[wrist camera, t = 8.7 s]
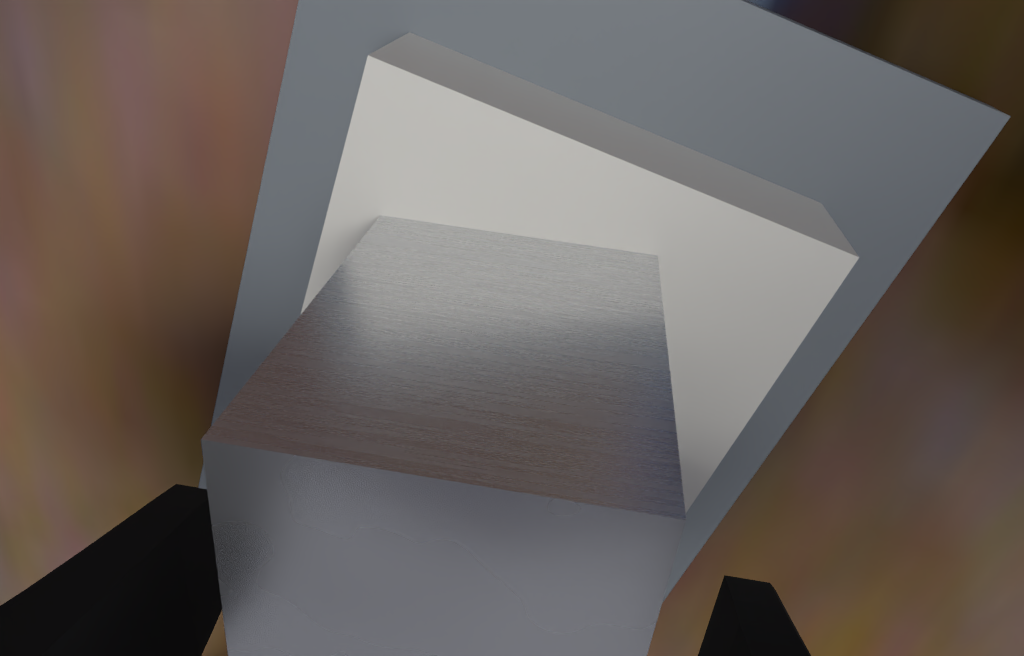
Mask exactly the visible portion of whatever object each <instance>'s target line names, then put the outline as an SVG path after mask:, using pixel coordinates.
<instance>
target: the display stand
mask: <svg viewBox="0 0 1024 656" xmlns="http://www.w3.org/2000/svg"><path fill="white" fill-rule="evenodd" d="M1010 117H1011V116H1009V115H1007V114H1005V113H1003V112H1001V111H999V110H997V109H995V108H993V107H991V106H990V105H988V104H986V103H983V102H981V101H979V100H976V99H974V98H972V97H969V96H967V95H965V94H962V93H960V92H958V91H956V90H953V89H951V88H949V87H946V86H944V85H942V84H939V83H937V82H935V81H932V80H930V79H928V78H925V77H923V76H921V75H918V74H916V73H914V72H911V71H909V70H907V69H905V68H902V67H900V66H898V65H895V64H893V63H891V62H888V61H886V60H884V59H881V58H879V57H877V56H874V55H872V54H870V53H867V52H865V51H863V50H861V49H858V48H856V47H854V46H851V45H849V44H847V43H844V42H842V41H840V40H837V39H835V38H833V37H830V36H828V35H826V34H823V33H821V32H819V31H816V30H814V29H812V28H810V27H807V26H805V25H803V24H800V23H798V22H796V21H793V20H791V19H789V18H786V17H784V16H782V15H779V14H777V13H775V12H772V11H770V10H768V9H766V8H763V7H761V6H759V5H756V4H754V3H752V2H749V1H747V0H299V2H298V7H297V11H296V16H295V21H294V26H293V31H292V36H291V41H290V45H289V50H288V55H287V60H286V65H285V70H284V75H283V79H282V84H281V89H280V94H279V99H278V104H277V108H276V113H275V118H274V123H273V128H272V133H271V138H270V142H269V147H268V152H267V157H266V162H265V167H264V172H263V176H262V181H261V186H260V191H259V196H258V201H257V206H256V210H255V215H254V220H253V225H252V230H251V235H250V239H249V244H248V249H247V254H246V259H245V264H244V269H243V273H242V278H241V283H240V288H239V293H238V298H237V303H236V307H235V312H234V317H233V322H232V327H231V332H230V336H229V341H228V346H227V351H226V356H225V361H224V366H223V370H222V375H221V380H220V385H219V390H218V395H217V400H216V404H215V409H214V414H213V419H212V424H211V426H212V425H213V424H214V422H215V421H216V420H217V419H218V417H219V416H220V415H221V414H222V412H223V411H224V410H225V409H226V407H227V406H228V405H229V404H230V402H231V401H232V400H233V399H234V397H235V396H236V395H237V394H238V392H239V391H240V390H241V389H242V387H243V386H244V385H245V384H246V383H247V381H248V380H249V379H250V378H251V376H252V375H253V374H254V373H255V371H256V370H257V369H258V368H259V366H260V365H261V364H262V363H263V361H264V360H265V359H266V358H267V356H268V355H269V354H270V353H271V351H272V350H273V349H274V348H275V346H276V345H277V344H278V343H279V341H280V340H281V339H282V338H283V336H284V335H285V334H286V333H287V331H288V330H289V329H290V328H291V326H292V325H293V324H294V323H295V321H296V320H297V319H298V318H299V316H300V315H301V314H302V313H303V311H304V310H305V309H306V308H307V306H308V305H309V304H310V303H311V301H312V300H313V299H314V298H315V296H316V295H317V294H318V293H319V291H320V290H321V289H322V288H323V286H324V285H325V284H326V283H327V281H328V280H329V279H330V278H331V276H332V275H333V274H334V273H335V271H336V270H337V269H338V268H339V266H340V265H341V264H342V263H343V261H344V260H345V259H346V258H347V257H348V255H349V254H350V253H351V252H352V250H353V249H354V248H355V247H356V245H357V244H358V243H359V242H360V240H361V239H362V238H363V237H364V235H365V234H366V233H367V232H368V230H369V229H370V228H371V227H372V225H373V224H374V223H375V222H376V220H377V219H378V218H379V217H380V215H382V216H389V217H396V218H403V219H410V220H416V221H423V222H430V223H437V224H444V225H451V226H458V227H465V228H472V229H478V230H485V231H492V232H499V233H506V234H513V235H520V236H527V237H533V238H540V239H547V240H554V241H561V242H568V243H575V244H582V245H589V246H595V247H602V248H609V249H616V250H623V251H630V252H637V253H644V254H651V255H657V256H658V264H659V273H660V283H661V292H662V301H663V310H664V320H665V329H666V338H667V347H668V356H669V366H670V375H671V384H672V393H673V403H674V412H675V421H676V430H677V440H678V449H679V458H680V467H681V476H682V486H683V495H684V504H685V513H686V523H685V526H684V529H683V533H682V536H681V540H680V543H679V547H678V550H677V553H676V557H675V560H674V564H673V567H672V571H671V574H670V577H669V581H668V584H667V588H666V591H665V595H664V598H663V601H664V600H665V598H666V597H667V596H668V594H669V593H670V591H671V590H672V589H673V587H674V586H675V584H676V583H677V582H678V580H679V579H680V577H681V576H682V575H683V573H684V572H685V570H686V569H687V568H688V566H689V565H690V564H691V562H692V561H693V559H694V558H695V557H696V555H697V554H698V552H699V551H700V550H701V548H702V547H703V545H704V544H705V543H706V541H707V540H708V538H709V537H710V536H711V534H712V533H713V531H714V530H715V529H716V527H717V526H718V524H719V523H720V522H721V520H722V519H723V517H724V516H725V515H726V513H727V512H728V510H729V509H730V508H731V506H732V505H733V504H734V502H735V501H736V499H737V498H738V497H739V495H740V494H741V492H742V491H743V490H744V488H745V487H746V485H747V484H748V483H749V481H750V480H751V478H752V477H753V476H754V474H755V473H756V471H757V470H758V469H759V467H760V466H761V464H762V463H763V462H764V460H765V459H766V457H767V456H768V455H769V453H770V452H771V450H772V449H773V448H774V446H775V445H776V444H777V442H778V441H779V439H780V438H781V437H782V435H783V434H784V432H785V431H786V430H787V428H788V427H789V425H790V424H791V423H792V421H793V420H794V418H795V417H796V416H797V414H798V413H799V411H800V410H801V409H802V407H803V406H804V404H805V403H806V402H807V400H808V399H809V397H810V396H811V395H812V393H813V392H814V391H815V389H816V388H817V386H818V385H819V384H820V382H821V381H822V379H823V378H824V377H825V375H826V374H827V372H828V371H829V370H830V368H831V367H832V365H833V364H834V363H835V361H836V360H837V358H838V357H839V356H840V354H841V353H842V351H843V350H844V349H845V347H846V346H847V344H848V343H849V342H850V340H851V339H852V337H853V336H854V335H855V333H856V332H857V331H858V329H859V328H860V326H861V325H862V324H863V322H864V321H865V319H866V318H867V317H868V315H869V314H870V312H871V311H872V310H873V308H874V307H875V305H876V304H877V303H878V301H879V300H880V298H881V297H882V296H883V294H884V293H885V291H886V290H887V289H888V287H889V286H890V284H891V283H892V282H893V280H894V279H895V278H896V276H897V275H898V273H899V272H900V271H901V269H902V268H903V266H904V265H905V264H906V262H907V261H908V259H909V258H910V257H911V255H912V254H913V252H914V251H915V250H916V248H917V247H918V245H919V244H920V243H921V241H922V240H923V238H924V237H925V236H926V234H927V233H928V231H929V230H930V229H931V227H932V226H933V224H934V223H935V222H936V220H937V219H938V218H939V216H940V215H941V213H942V212H943V211H944V209H945V208H946V206H947V205H948V204H949V202H950V201H951V199H952V198H953V197H954V195H955V194H956V192H957V191H958V190H959V188H960V187H961V185H962V184H963V183H964V181H965V180H966V178H967V177H968V176H969V174H970V173H971V171H972V170H973V169H974V167H975V166H976V165H977V163H978V162H979V160H980V159H981V158H982V156H983V155H984V153H985V152H986V151H987V149H988V148H989V146H990V145H991V144H992V142H993V141H994V139H995V138H996V137H997V135H998V134H999V132H1000V131H1001V130H1002V128H1003V127H1004V125H1005V124H1006V123H1007V121H1008V120H1009V118H1010ZM198 488H202V489H207V484H206V477H205V469H204V463H203V467H202V472H201V477H200V482H199V487H198ZM663 601H662V603H663Z"/></svg>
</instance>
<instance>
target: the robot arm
mask: <svg viewBox="0 0 1024 656" xmlns="http://www.w3.org/2000/svg"><path fill="white" fill-rule="evenodd" d="M221 610H222V603H221V595H220V587H219V579H218V572H217V564H216V556H215V548H214V540H213V532H212V524H211V516H210V508H209V500H208V492H207V489H202V488H196V487H190V486H184V485H178V484H176V485H174V486H173V487H171V488H170V489H168V490H167V491H165V492H164V493H163V494H161V495H160V496H158V497H157V498H155V499H154V500H153V501H151V502H150V503H148V504H147V505H146V506H144V507H143V508H141V509H140V510H138V511H137V512H136V513H134V514H133V515H131V516H130V517H129V518H127V519H126V520H124V521H123V522H122V523H120V524H119V525H117V526H116V527H115V528H113V529H112V530H110V531H109V532H108V533H106V534H105V535H103V536H102V537H101V538H99V539H98V540H96V541H95V542H93V543H92V544H91V545H89V546H88V547H86V548H85V549H84V550H82V551H81V552H79V553H78V554H76V555H75V556H74V557H72V558H71V559H69V560H68V561H66V562H65V563H63V564H62V565H60V566H59V567H58V568H56V569H55V570H53V571H52V572H50V573H49V574H47V575H46V576H45V577H43V578H42V579H40V580H39V581H37V582H36V583H34V584H33V585H31V586H30V587H29V588H27V589H26V590H24V591H23V592H21V593H20V594H18V595H16V596H15V597H13V598H12V599H10V600H9V601H7V602H6V603H4V604H2V605H1V606H0V656H201V655H202V653H203V650H204V648H205V646H206V644H207V642H208V640H209V637H210V635H211V633H212V631H213V629H214V626H215V624H216V622H217V619H218V617H219V615H220V612H221ZM698 656H811V655H810V653H809V651H808V649H807V648H806V646H805V644H804V642H803V640H802V639H801V637H800V635H799V633H798V631H797V629H796V628H795V626H794V624H793V622H792V620H791V618H790V617H789V615H788V613H787V611H786V609H785V607H784V605H783V604H782V602H781V600H780V598H779V596H778V594H777V592H776V590H775V589H774V588H773V586H772V585H771V584H770V583H767V582H761V581H755V580H749V579H743V578H737V577H731V576H724V579H723V582H722V585H721V588H720V591H719V594H718V597H717V600H716V603H715V606H714V609H713V612H712V615H711V618H710V621H709V624H708V627H707V630H706V633H705V636H704V639H703V642H702V645H701V648H700V651H699V654H698Z"/></svg>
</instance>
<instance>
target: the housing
mask: <svg viewBox="0 0 1024 656" xmlns="http://www.w3.org/2000/svg"><path fill="white" fill-rule="evenodd" d="M201 445H202V453H203V461H204V469H205V477H206V484H207V492H208V500H209V508H210V516H211V524H212V532H213V540H214V548H215V556H216V564H217V572H218V579H219V587H220V595H221V603H222V611H223V619H224V627H225V635H226V643H227V651H228V656H647V653H648V649H649V646H650V643H651V639H652V636H653V632H654V629H655V625H656V622H657V619H658V615H659V612H660V608H661V605H662V601H663V598H664V595H665V591H666V588H667V584H668V581H669V577H670V574H671V571H672V567H673V564H674V560H675V557H676V553H677V550H678V547H679V543H680V540H681V536H682V533H683V529H684V526H685V523H686V513H685V504H684V495H683V486H682V476H681V467H680V458H679V449H678V440H677V430H676V421H675V412H674V403H673V393H672V384H671V375H670V366H669V356H668V347H667V338H666V329H665V320H664V310H663V301H662V292H661V283H660V273H659V264H658V256H657V255H651V254H644V253H637V252H630V251H623V250H616V249H609V248H602V247H595V246H589V245H582V244H575V243H568V242H561V241H554V240H547V239H540V238H533V237H527V236H520V235H513V234H506V233H499V232H492V231H485V230H478V229H472V228H465V227H458V226H451V225H444V224H437V223H430V222H423V221H416V220H410V219H403V218H396V217H389V216H382V215H380V217H379V218H378V219H377V220H376V222H375V223H374V224H373V225H372V227H371V228H370V229H369V230H368V232H367V233H366V234H365V235H364V237H363V238H362V239H361V240H360V242H359V243H358V244H357V245H356V247H355V248H354V249H353V250H352V252H351V253H350V254H349V255H348V257H347V258H346V259H345V260H344V261H343V263H342V264H341V265H340V266H339V268H338V269H337V270H336V271H335V273H334V274H333V275H332V276H331V278H330V279H329V280H328V281H327V283H326V284H325V285H324V286H323V288H322V289H321V290H320V291H319V293H318V294H317V295H316V296H315V298H314V299H313V300H312V301H311V303H310V304H309V305H308V306H307V308H306V309H305V310H304V311H303V313H302V314H301V315H300V316H299V318H298V319H297V320H296V321H295V323H294V324H293V325H292V326H291V328H290V329H289V330H288V331H287V333H286V334H285V335H284V336H283V338H282V339H281V340H280V341H279V343H278V344H277V345H276V346H275V348H274V349H273V350H272V351H271V353H270V354H269V355H268V356H267V358H266V359H265V360H264V361H263V363H262V364H261V365H260V366H259V368H258V369H257V370H256V371H255V373H254V374H253V375H252V376H251V378H250V379H249V380H248V381H247V383H246V384H245V385H244V386H243V387H242V389H241V390H240V391H239V392H238V394H237V395H236V396H235V397H234V399H233V400H232V401H231V402H230V404H229V405H228V406H227V407H226V409H225V410H224V411H223V412H222V414H221V415H220V416H219V417H218V419H217V420H216V421H215V422H214V424H213V425H212V426H211V427H210V429H209V430H208V431H207V432H206V434H205V435H204V436H203V437H202V439H201Z"/></svg>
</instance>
